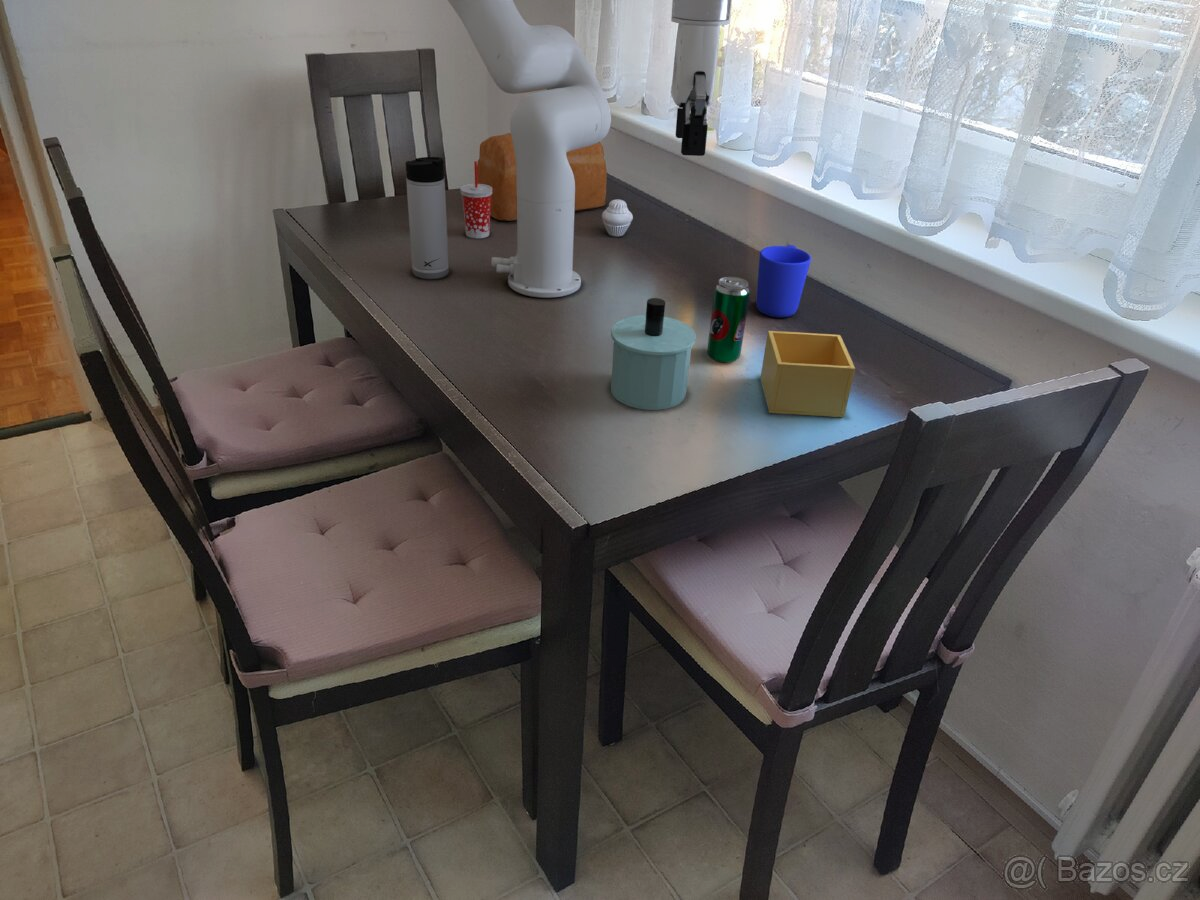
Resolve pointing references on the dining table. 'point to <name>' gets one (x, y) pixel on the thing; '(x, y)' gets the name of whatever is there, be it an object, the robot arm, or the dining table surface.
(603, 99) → the robot arm
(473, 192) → the beverage cup
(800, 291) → the mug
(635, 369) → the pot
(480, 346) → the dining table surface
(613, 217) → the muffin
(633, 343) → the pot lid
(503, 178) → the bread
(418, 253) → the travel mug
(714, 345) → the soda can
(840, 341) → the bin
